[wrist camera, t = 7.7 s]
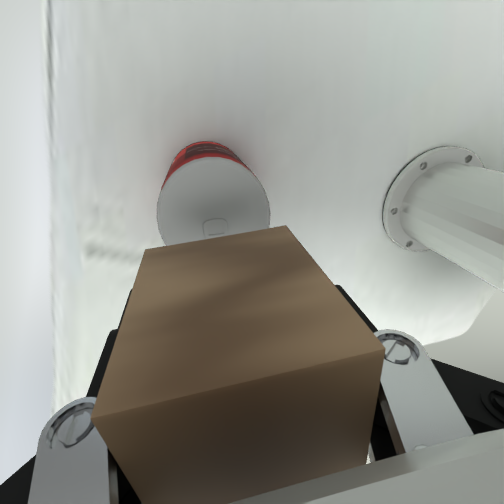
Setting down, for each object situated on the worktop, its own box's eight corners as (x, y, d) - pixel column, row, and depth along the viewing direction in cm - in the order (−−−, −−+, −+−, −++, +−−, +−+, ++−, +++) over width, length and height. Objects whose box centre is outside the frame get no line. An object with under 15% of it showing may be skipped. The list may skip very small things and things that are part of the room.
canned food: (190, 230, 30) (188, 287, 21) (152, 158, 26) (129, 187, 17) (256, 203, 30) (285, 248, 21) (228, 127, 26) (248, 138, 17)
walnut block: (286, 225, 10) (385, 348, 5) (290, 328, 13) (361, 486, 7) (144, 249, 10) (89, 418, 4) (177, 353, 12) (167, 544, 7)
